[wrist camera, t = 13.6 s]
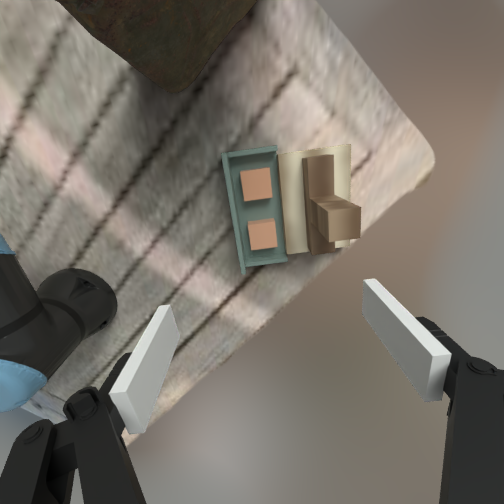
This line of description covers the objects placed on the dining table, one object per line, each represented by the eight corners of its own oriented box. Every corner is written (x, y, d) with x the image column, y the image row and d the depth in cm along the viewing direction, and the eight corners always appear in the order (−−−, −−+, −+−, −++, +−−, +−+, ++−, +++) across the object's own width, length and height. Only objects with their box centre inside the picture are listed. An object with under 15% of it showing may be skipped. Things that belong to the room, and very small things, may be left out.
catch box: (242, 261, 51) (241, 274, 46) (224, 153, 43) (221, 153, 38) (285, 255, 51) (290, 268, 45) (275, 145, 43) (279, 144, 38)
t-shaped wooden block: (307, 247, 47) (329, 282, 34) (301, 157, 41) (327, 160, 28) (328, 244, 47) (359, 279, 34) (326, 154, 41) (362, 155, 28)
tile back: (251, 245, 49) (251, 250, 47) (247, 221, 48) (247, 225, 45) (276, 242, 49) (277, 246, 47) (273, 217, 47) (274, 221, 45)
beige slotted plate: (284, 248, 50) (287, 254, 48) (276, 154, 44) (278, 154, 41) (344, 241, 50) (349, 246, 47) (344, 144, 43) (350, 144, 40)
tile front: (244, 198, 46) (244, 201, 44) (240, 170, 44) (240, 171, 42) (271, 195, 46) (272, 197, 43) (268, 166, 44) (269, 167, 42)
